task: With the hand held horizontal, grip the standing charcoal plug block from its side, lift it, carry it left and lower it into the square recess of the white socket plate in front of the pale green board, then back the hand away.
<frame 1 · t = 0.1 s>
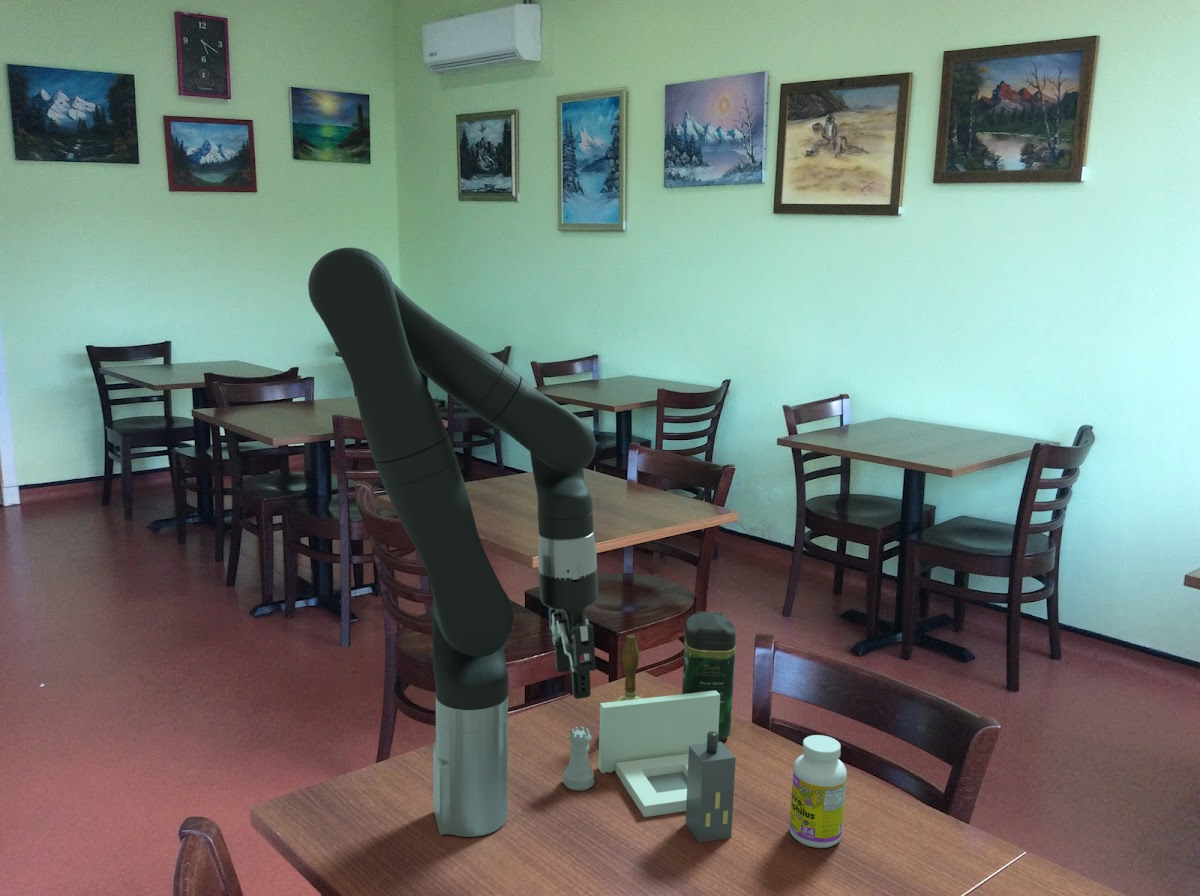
hand: (573, 683, 131), 17 cm above the table, tool pointing down, fingers open, 8 cm apart
socket: (670, 788, 139), on the table
hand bell: (629, 734, 155), on the table
plug: (708, 830, 129), on the table
rook chess piece: (578, 785, 140), on the table
supplement bottle: (815, 837, 128), on the table
coffee jar: (705, 730, 157), on the table
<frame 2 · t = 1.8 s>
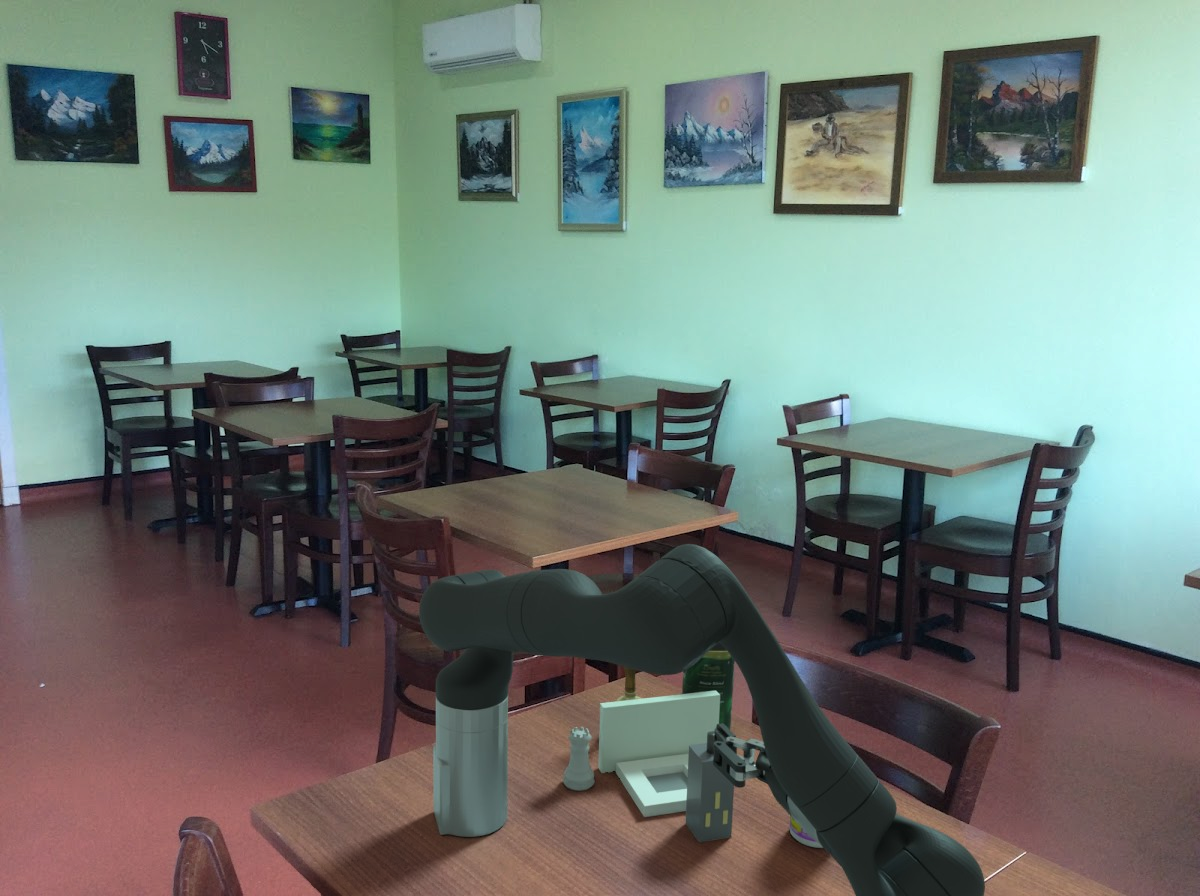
hand: (752, 726, 116), 19 cm above the table, tool horizontal, fingers open, 8 cm apart
nothing on the table moved.
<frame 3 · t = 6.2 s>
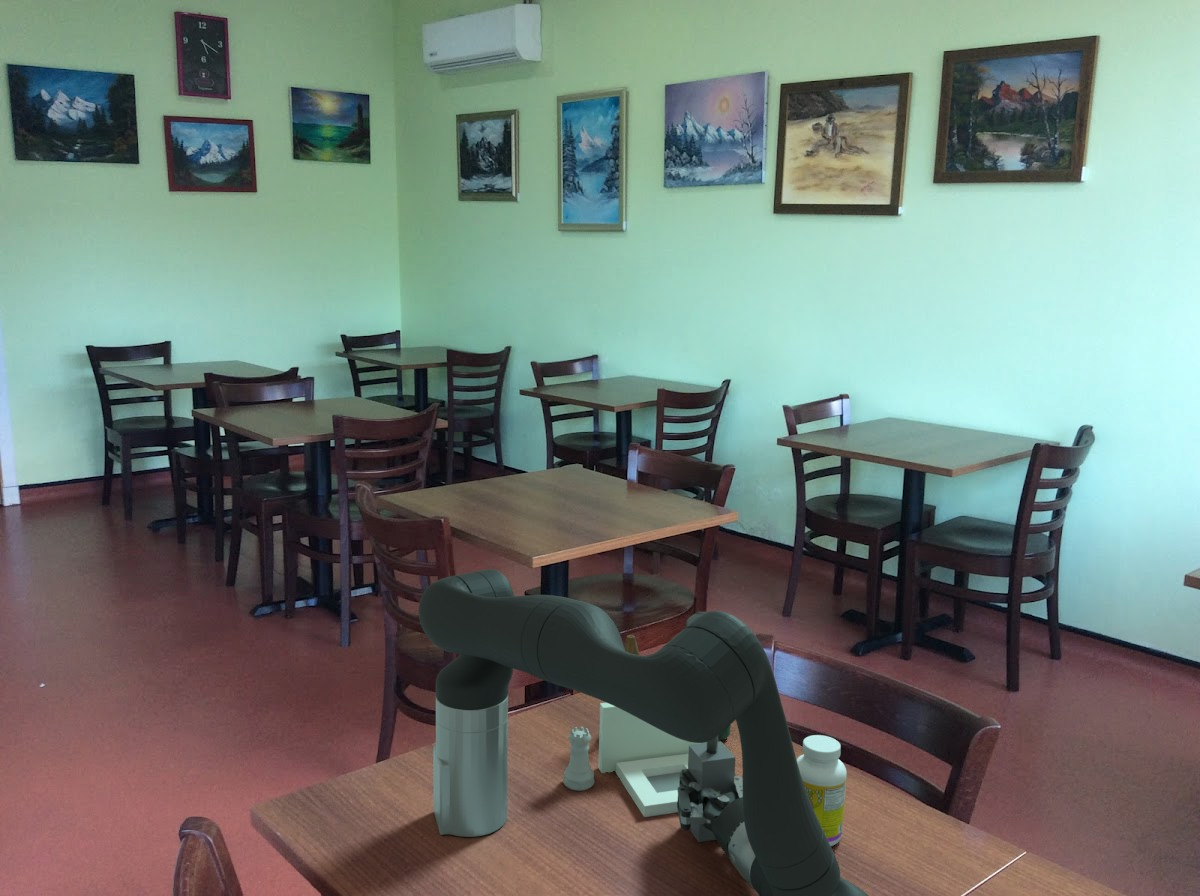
hand: (701, 773, 130), 7 cm above the table, tool horizontal, fingers closed on plug, 4 cm apart
plug: (707, 830, 129), on the table, touching gripper
everything else where it was.
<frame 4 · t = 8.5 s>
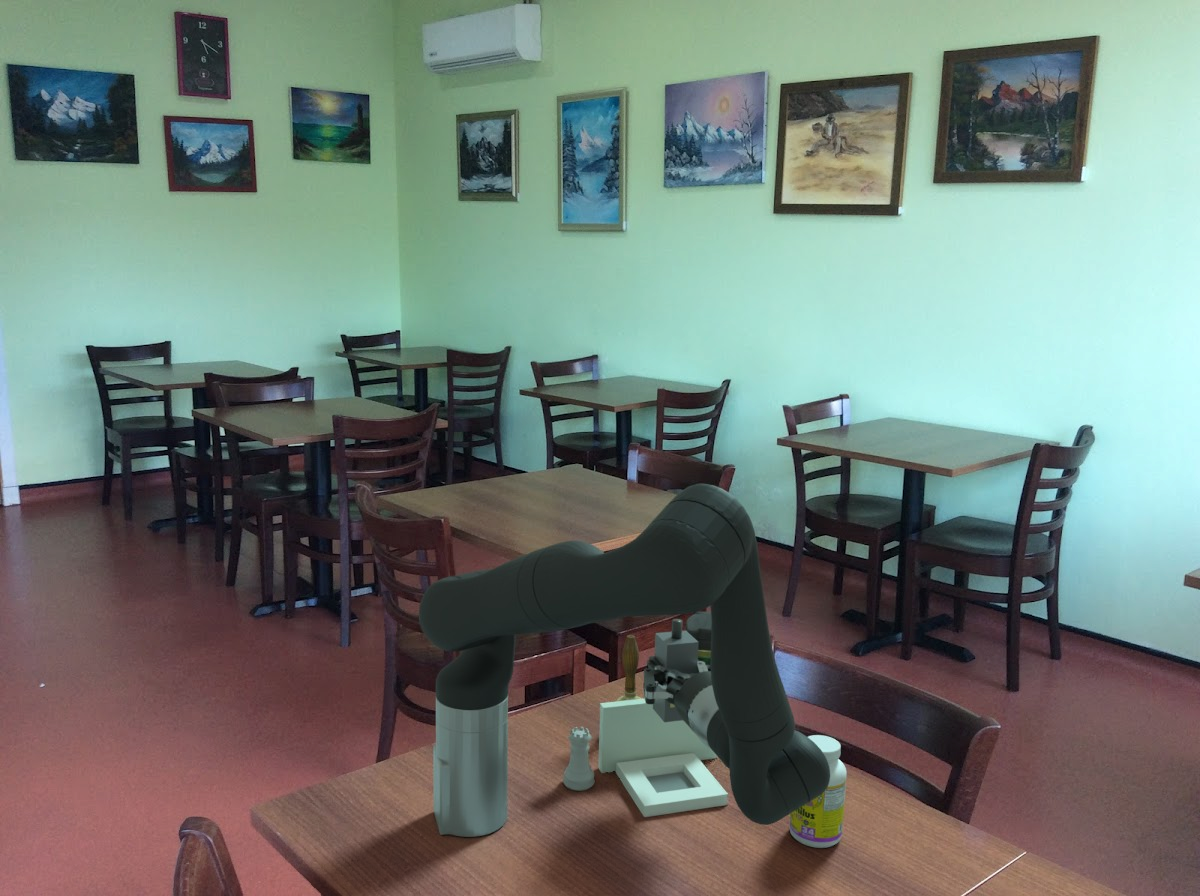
hand: (668, 661, 138), 18 cm above the table, tool horizontal, fingers closed on plug, 4 cm apart
plug: (673, 713, 137), point 11 cm above the table, touching gripper
everything else where it was.
when the fingers open (7 cm above the table, at t = 11.2 s): plug stays where it is, resting on socket.
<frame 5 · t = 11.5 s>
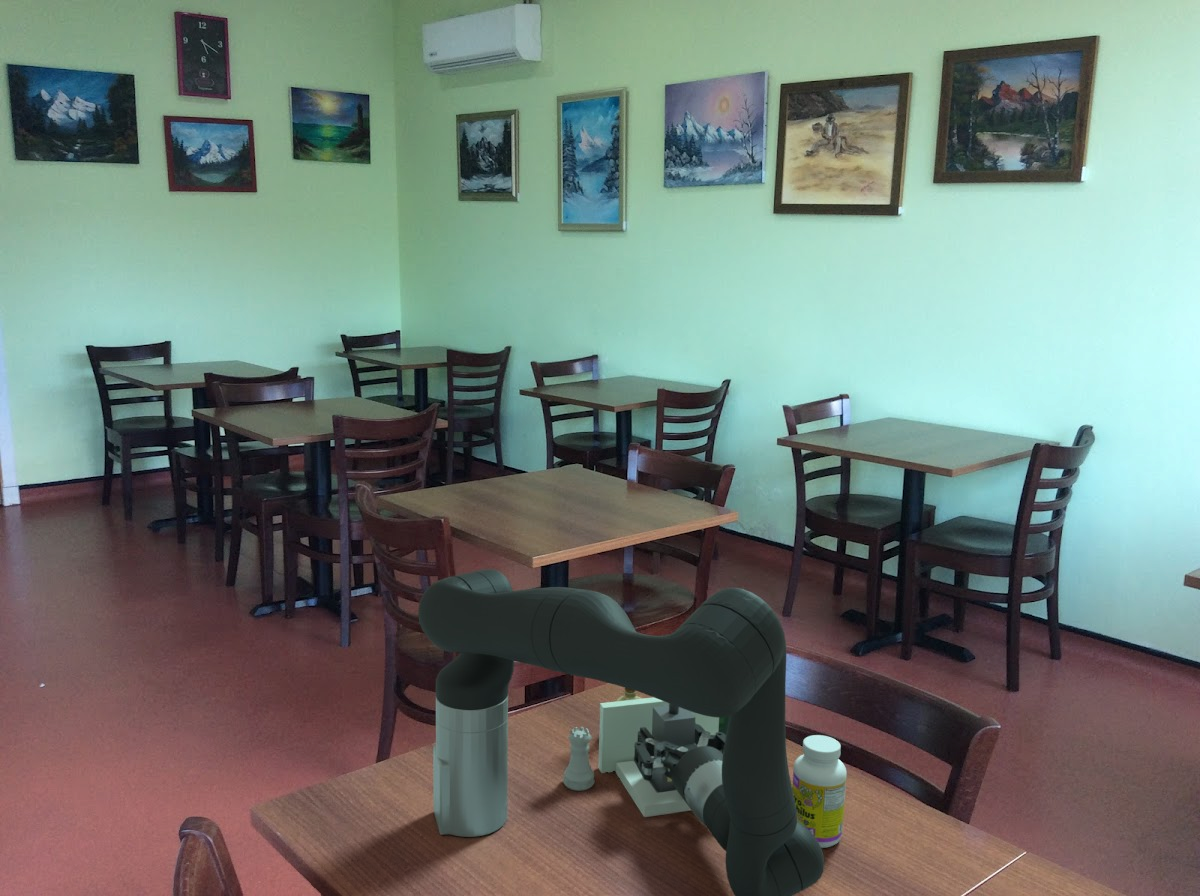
hand: (666, 730, 140), 8 cm above the table, tool horizontal, fingers open, 6 cm apart
plug: (670, 785, 139), resting on socket
everything else where it was.
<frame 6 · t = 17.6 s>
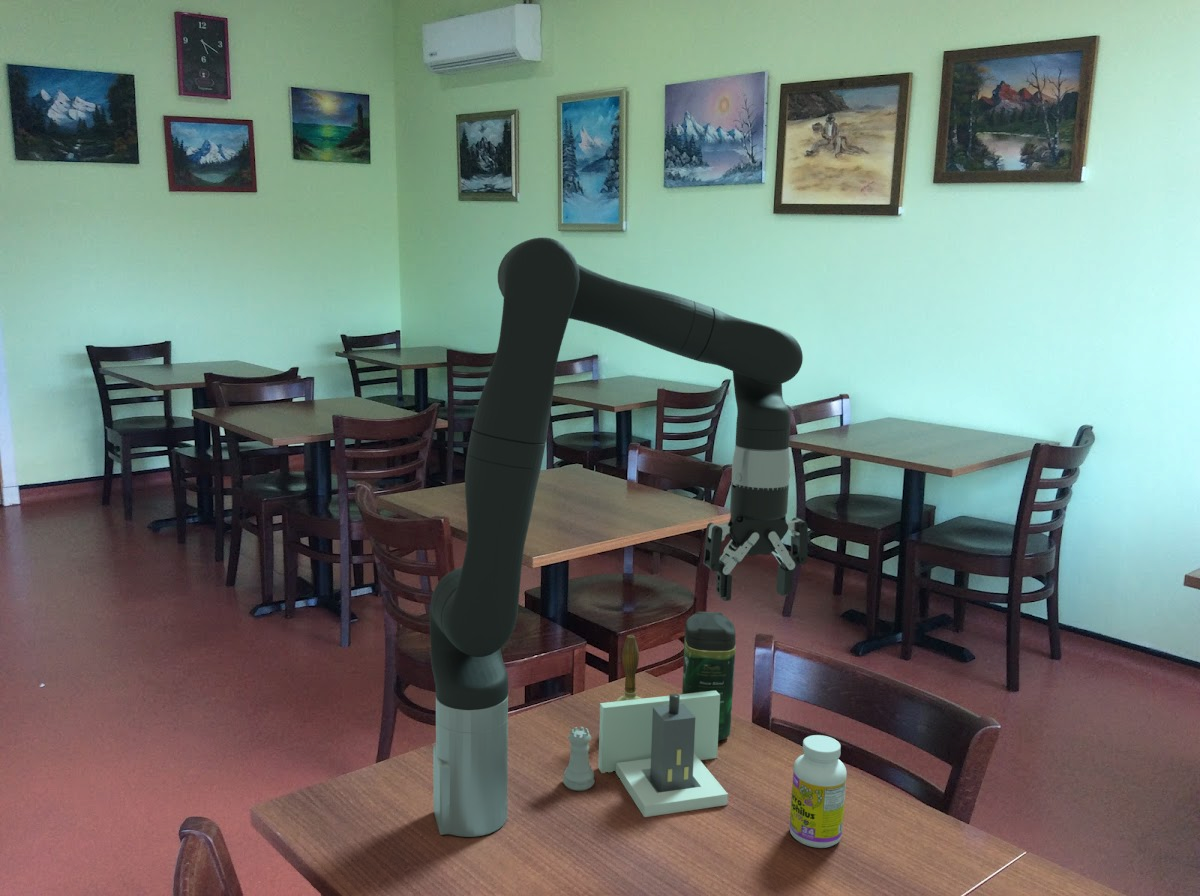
hand: (753, 596, 135), 28 cm above the table, tool pointing down, fingers open, 8 cm apart
nothing on the table moved.
at the end: plug 0.1 cm off-centre on the socket, point 0.4 cm above the socket's base; plug tilted 0°; the gripper is holding nothing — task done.
